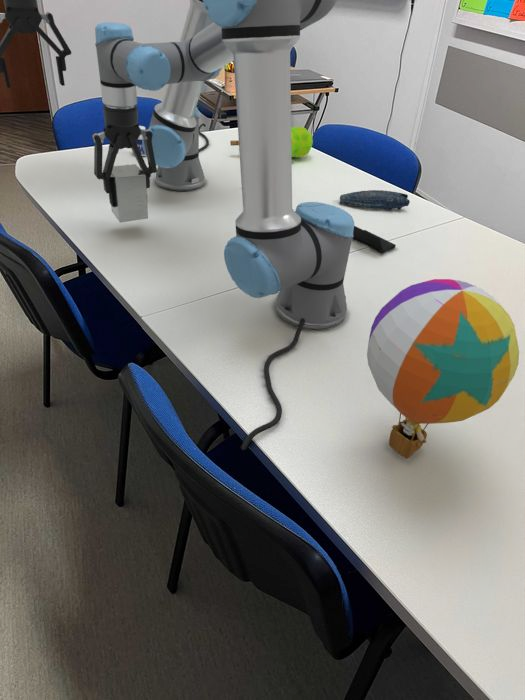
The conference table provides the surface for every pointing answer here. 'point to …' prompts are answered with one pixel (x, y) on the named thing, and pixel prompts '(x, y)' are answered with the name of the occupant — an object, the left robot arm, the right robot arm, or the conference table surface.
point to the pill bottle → (140, 143)
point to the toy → (440, 356)
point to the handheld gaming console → (372, 240)
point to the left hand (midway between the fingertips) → (35, 85)
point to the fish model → (376, 199)
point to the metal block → (129, 193)
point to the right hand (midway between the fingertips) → (128, 202)
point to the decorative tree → (296, 142)
